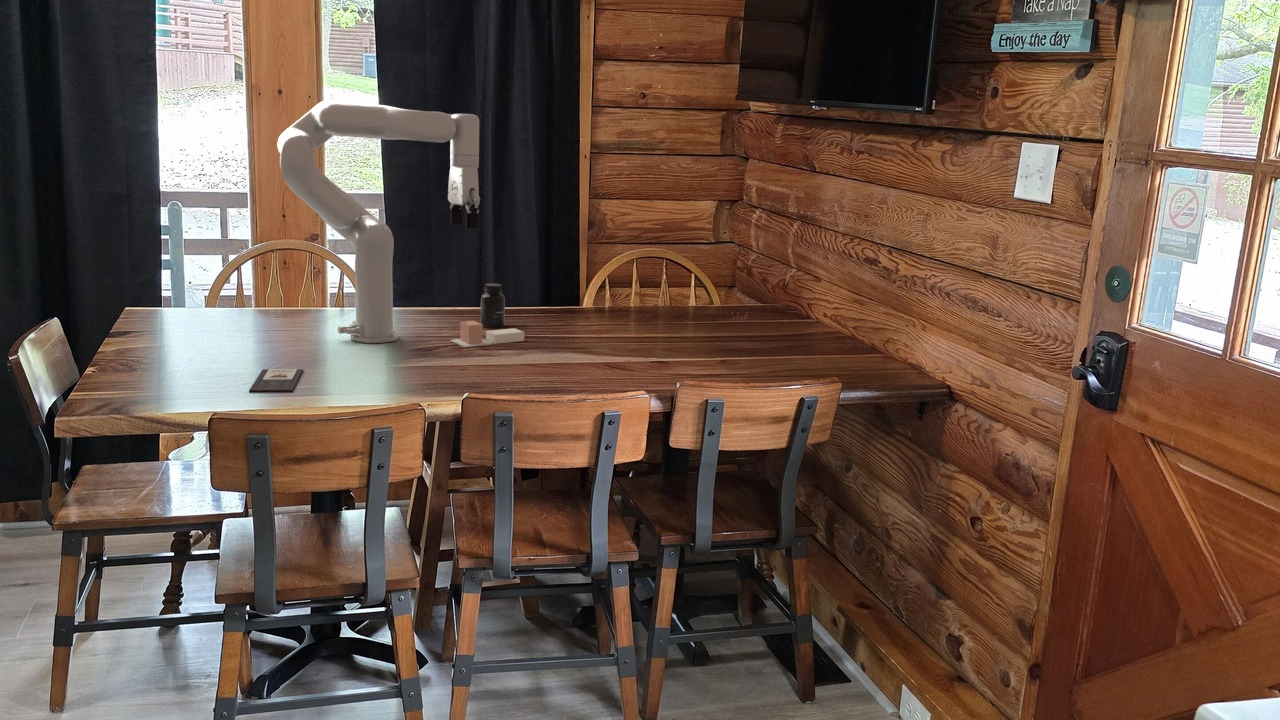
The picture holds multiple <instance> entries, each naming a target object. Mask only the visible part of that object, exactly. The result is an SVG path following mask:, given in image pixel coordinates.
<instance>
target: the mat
mask: <svg viewBox="0 0 1280 720" xmlns="http://www.w3.org/2000/svg"><path fill="white" fill-rule="evenodd" d="M451 342H452V343H455V344H457V345H458V346H460V347H462V348H474V347H481V346H491V345H493V343H491V342H489V341H487V340H486V339H484V338H482V343H475V344H467V343H465V342H463V341H461V340H460V338H458V339H457V338H456V339H455V338H453V339H451Z"/></svg>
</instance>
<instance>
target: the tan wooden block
mask: <svg viewBox="0 0 1280 720" xmlns="http://www.w3.org/2000/svg"><path fill="white" fill-rule="evenodd" d="M459 324H460V326H459V327H460V328H459V329H460V330H459V331H460V337H459V339H460V340H461V341H463V342H465V343H467V344H475V343H482V339H483V334H484V333H483V331H484V330H483V328H484V327H483V324H481V322H478V321H475V320H469V321H460V323H459Z"/></svg>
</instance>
